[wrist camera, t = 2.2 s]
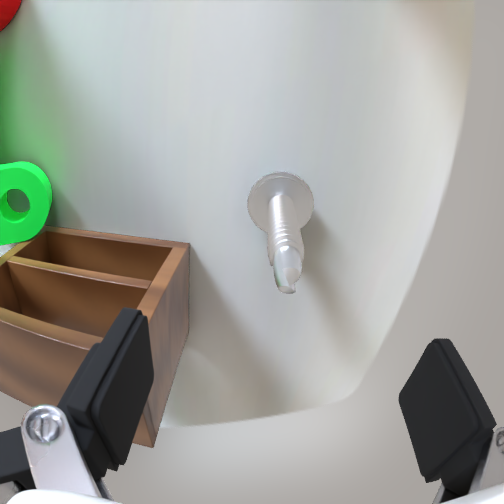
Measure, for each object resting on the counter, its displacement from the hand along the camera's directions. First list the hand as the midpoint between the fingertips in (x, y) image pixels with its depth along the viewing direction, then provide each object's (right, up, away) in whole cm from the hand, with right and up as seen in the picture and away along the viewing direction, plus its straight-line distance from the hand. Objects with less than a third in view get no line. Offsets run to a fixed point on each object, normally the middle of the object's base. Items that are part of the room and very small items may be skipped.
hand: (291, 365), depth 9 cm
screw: (+1, +8, +15) cm, 17 cm away
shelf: (-15, +1, +20) cm, 25 cm away
